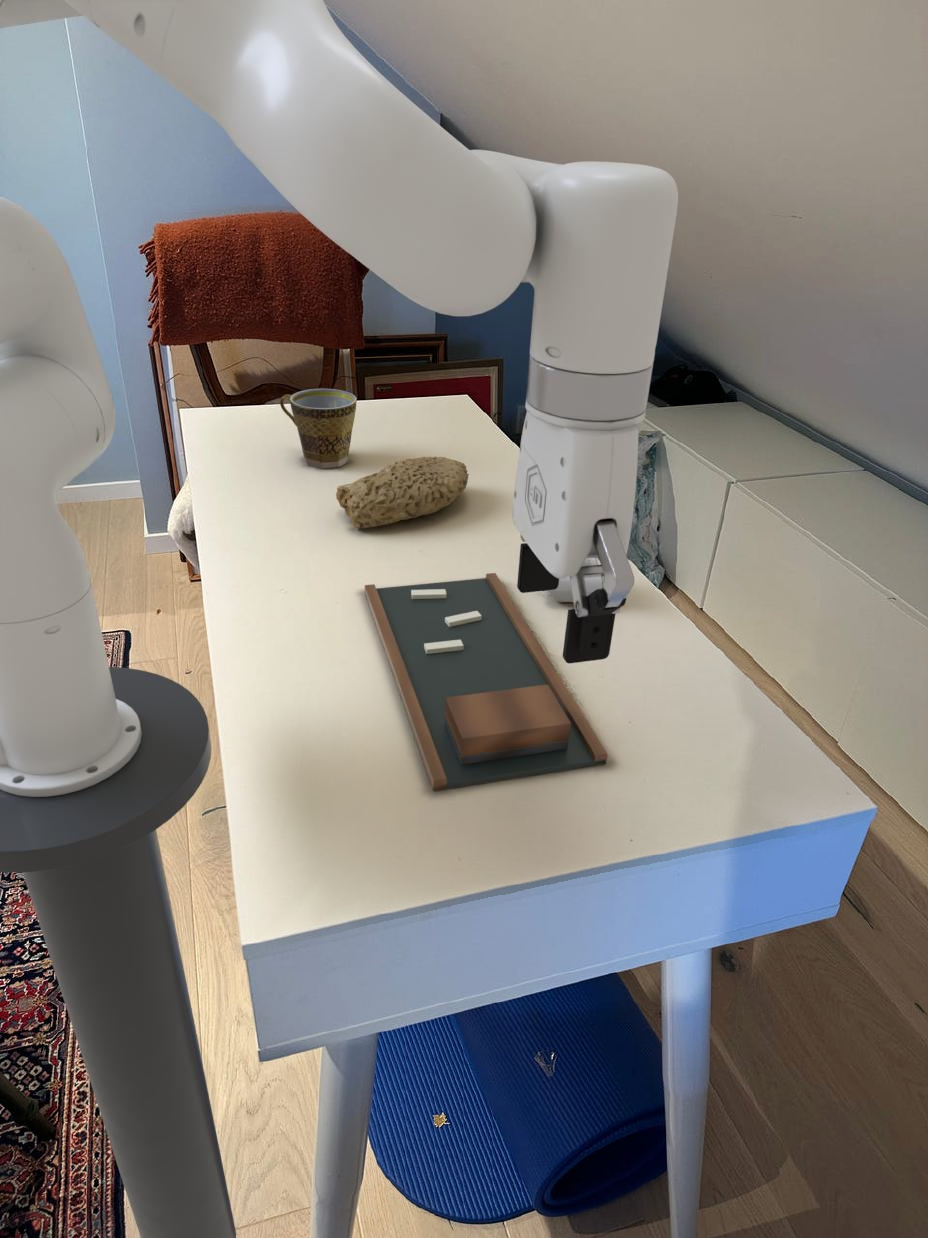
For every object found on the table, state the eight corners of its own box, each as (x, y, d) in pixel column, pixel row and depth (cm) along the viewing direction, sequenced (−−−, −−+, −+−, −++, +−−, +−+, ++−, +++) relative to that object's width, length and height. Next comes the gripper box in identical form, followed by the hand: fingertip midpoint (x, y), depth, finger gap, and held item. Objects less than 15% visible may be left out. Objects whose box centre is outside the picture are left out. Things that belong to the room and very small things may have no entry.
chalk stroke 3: (449, 627, 94) (449, 622, 94) (444, 621, 95) (444, 617, 95) (481, 620, 96) (481, 615, 96) (476, 615, 97) (477, 610, 97)
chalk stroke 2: (426, 654, 90) (426, 649, 89) (423, 648, 91) (424, 643, 90) (463, 650, 91) (463, 645, 90) (460, 643, 92) (460, 639, 91)
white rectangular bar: (412, 599, 99) (412, 594, 99) (411, 594, 100) (411, 589, 100) (446, 598, 100) (446, 594, 99) (445, 593, 101) (445, 588, 100)
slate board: (433, 791, 73) (433, 780, 73) (364, 593, 101) (364, 584, 100) (606, 764, 77) (608, 753, 77) (494, 581, 105) (495, 572, 104)
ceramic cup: (369, 457, 138) (369, 395, 132) (335, 477, 130) (332, 413, 125) (302, 441, 142) (298, 381, 137) (264, 460, 134) (259, 397, 129)
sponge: (364, 549, 113) (497, 499, 118) (347, 494, 110) (486, 445, 115) (336, 525, 124) (460, 481, 130) (320, 474, 121) (448, 430, 126)
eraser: (461, 765, 75) (462, 738, 74) (444, 723, 80) (445, 697, 79) (567, 749, 78) (571, 723, 76) (545, 709, 83) (547, 684, 81)
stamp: (604, 582, 106) (613, 520, 101) (612, 610, 100) (623, 546, 96) (531, 580, 106) (537, 517, 101) (535, 608, 100) (542, 543, 95)
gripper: (489, 352, 60) (476, 570, 69) (584, 439, 45) (553, 699, 55) (589, 349, 61) (564, 562, 70) (711, 432, 47) (660, 685, 56)
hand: (559, 622), depth 62 cm, fingers open, 9 cm apart
